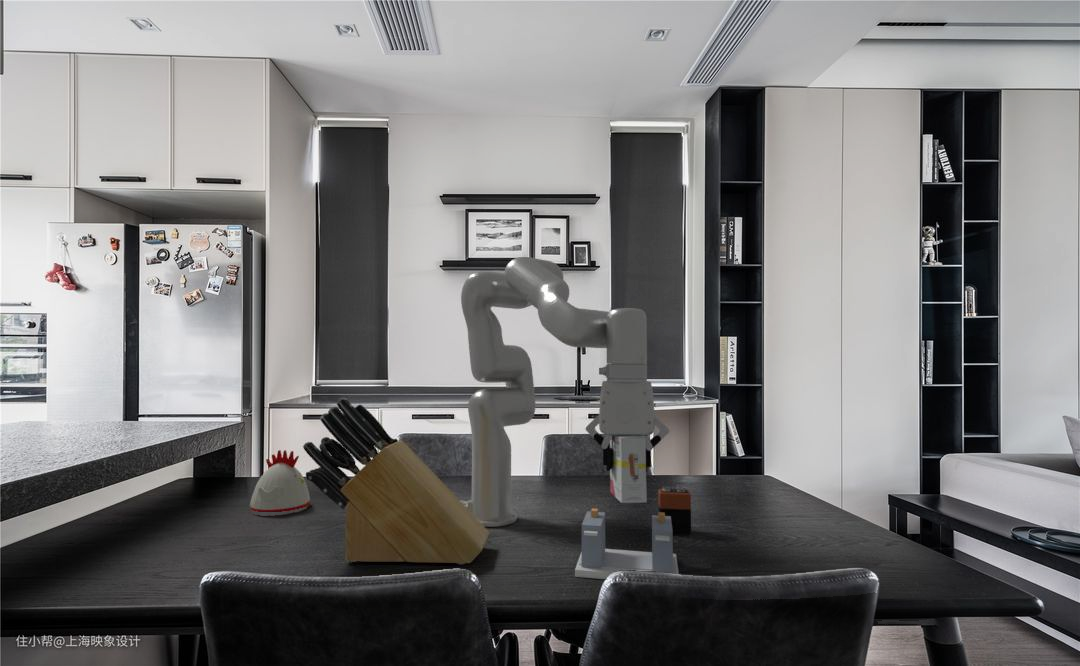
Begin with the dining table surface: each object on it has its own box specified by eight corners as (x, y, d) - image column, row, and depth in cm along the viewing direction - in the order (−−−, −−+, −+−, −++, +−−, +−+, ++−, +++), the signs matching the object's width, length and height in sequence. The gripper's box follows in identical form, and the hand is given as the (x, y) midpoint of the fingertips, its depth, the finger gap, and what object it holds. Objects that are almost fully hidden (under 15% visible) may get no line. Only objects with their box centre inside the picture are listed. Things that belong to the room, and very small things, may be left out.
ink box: (608, 492, 104) (608, 430, 105) (633, 491, 105) (633, 430, 106) (620, 503, 96) (620, 436, 96) (647, 503, 96) (647, 436, 97)
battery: (691, 535, 119) (691, 489, 119) (660, 534, 120) (659, 488, 120) (688, 529, 123) (688, 485, 124) (658, 528, 124) (657, 484, 125)
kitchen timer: (294, 516, 132) (296, 455, 133) (238, 516, 132) (240, 454, 133) (318, 502, 146) (319, 446, 147) (267, 501, 146) (269, 446, 147)
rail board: (574, 576, 96) (574, 520, 96) (583, 553, 107) (583, 502, 108) (679, 585, 92) (678, 526, 93) (676, 560, 104) (675, 508, 104)
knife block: (322, 543, 113) (326, 394, 114) (490, 547, 111) (491, 396, 113) (295, 563, 101) (300, 398, 103) (481, 567, 100) (483, 399, 101)
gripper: (578, 373, 100) (578, 472, 99) (674, 374, 96) (675, 476, 95) (583, 373, 107) (583, 464, 106) (672, 373, 104) (673, 468, 103)
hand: (627, 469), depth 101 cm, fingers closed on ink box, 6 cm apart
